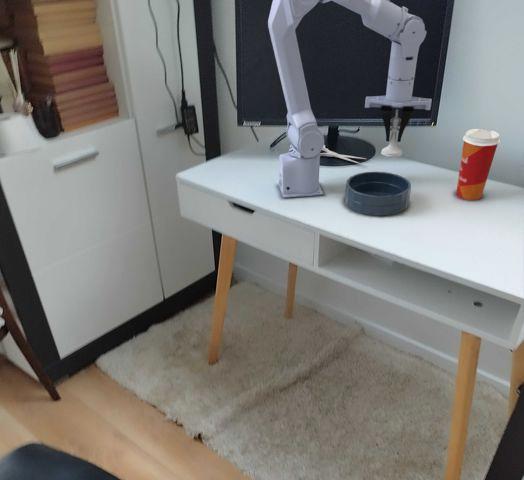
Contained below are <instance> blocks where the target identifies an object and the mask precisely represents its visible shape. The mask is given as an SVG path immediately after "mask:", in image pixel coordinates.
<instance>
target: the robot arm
mask: <svg viewBox="0 0 524 480" xmlns="http://www.w3.org/2000/svg"><path fill="white" fill-rule="evenodd" d="M331 1H332V2H334V3H335V4H337V5H340V6H342V7H344V8H346V9H348V10H350V11H352V12H354V13H356V14H358V15H360V16H361V21H362V24H363V26H364V27H367V28H368V29H370V30H372V31H374V32H375V33H377V34H379V35H382V36H383V37H385V38H387V39H389V41H391V48H390V56H389V63H388V74H387V83H386V92H385V95H375V96H373V95H372V96H366V97H365V103H364V109H365V108H366V109H370V108H380V116H381V118H382V121H383V125H384V130H385V141H386V142H390V139H391V130H390V128H391V123H392V115H393V114H392V113H393V109H401V117H400V122H399V127H398V128H399V131H398V132H397V133H398V134H397V139H396V143H401V140H402V137H403V134H404V131H405V129H406V127H407V125H408V123H409V121H410V120H411V118H412V117H413V115H414V110H415V109H416V110H426V111H431V108H432V102H433V101H432V100H433V99H432V98H427V97H418V96H413V92H414V91H413V90H414V84H415V82H414V81H415V77H416V69H417V63H418V54H419V50H420V46H421V44H422V43H423V42H424V41H425V39H426V35H427V30H426V26H425V23H424V20H423V19H422V18H421V17H420V16H417V15H415V14H411V13H409V8H407V7H406V6H398V5H397V4H395V3H393V2H391V0H272V2H271V7H270V11H269V16H268V20H267V28H268V31H269V36H270V40H271V45H272V49H273V53H274V58H275V62H276V66H277V71H278V74H279V79H280V84H281V88H282V93H283V97H284V101H285V105H286V109H287V114H286V121H287V126H286V132H285V135H286V138H287V140H288V142H290V145H289V149H288V152H286V153H281V154H279V157H278V187H279V189H280V192H281V195H282V197H283V198H299V197H311V196H312V197H313V196H322V195H324V192H323V191H324V190H323V189H322V187H321V186H320V166H321V164H320V163H321V156H320V153H321V152H322V151H323V150H322V149H323V146H324V145H325V137H324V134H323V133H322V131H321V130H320V129H319V127H318V123H317V119H316V117H315V115H314V112H313V110H312V107H311V103H310V99H309V98H310V97H309V92H308V87H307V83H306V78H305V72H304V68H303V63H302V58H301V53H300V48H299V43H298V37H297V33H296V29H297V27H298V26H299V24H300V22H301V21H302V19H303V17H304V16H306V15H307V14H308V13H309V12H310V11H311V10H312V9H314V8H315V7H316V5H318V3H321V4H325V3H328V2H331Z"/></svg>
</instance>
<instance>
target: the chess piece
mask: <svg viewBox="0 0 524 480" xmlns="http://www.w3.org/2000/svg"><path fill="white" fill-rule="evenodd" d="M394 114H395V115H394V116H393V117H391V124H392V127H391V126H390V132H391V134H390V138H389V143H388V145H387V146H385V147H383V148H382V149H381V152H380V154H381V155H382V156H384V157H389V158H397V157H401V156H402V155H403V150H402V149H401V148H400V147H398V146H397V132H399V128H400V127H398V126H399V125H400V123H401V117H399V108H395V113H394Z"/></svg>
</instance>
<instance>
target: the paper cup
mask: <svg viewBox="0 0 524 480" xmlns="http://www.w3.org/2000/svg"><path fill="white" fill-rule="evenodd" d="M462 140H463V145H462V151H461V152H462V153H461V158H460V165H459V170H458V178H457V186H456V197H457V198H459V199H461V200H465V201H477V200H480V199H481V198H482V196H483V193H484V189H485V187H486V184H487V181H488V177H489V175H490V174H489V173H490V171H491V168H492V165H493V161H494V158H495V154H496V152H497V151H496V150H497V148H498V145H499V144H500V143H501V139H500V134H499V132H497V131H495V130H492V129H491V130H489V129H485V128H483V129H481V128H472V129H468V130H467V131H466V132H465V135H463V137H462Z"/></svg>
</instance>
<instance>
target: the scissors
mask: <svg viewBox="0 0 524 480" xmlns="http://www.w3.org/2000/svg"><path fill="white" fill-rule="evenodd" d="M321 151H323V152H322V153H321V152H320V157H331V158H332V157H334V158H339V159H342V160H344V161H349V162H352V163H355V164H359V165H362V162H361V163H360V162H358V161H355V160H353V159H363V160H366V158H365V157H360V156H359V157H358V156H353V155H346V154H340V153H337V152H335V151H332V150H329V148H326V145H325V144H324V146H323V149H322V150H321ZM350 158H353V159H350Z"/></svg>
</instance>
